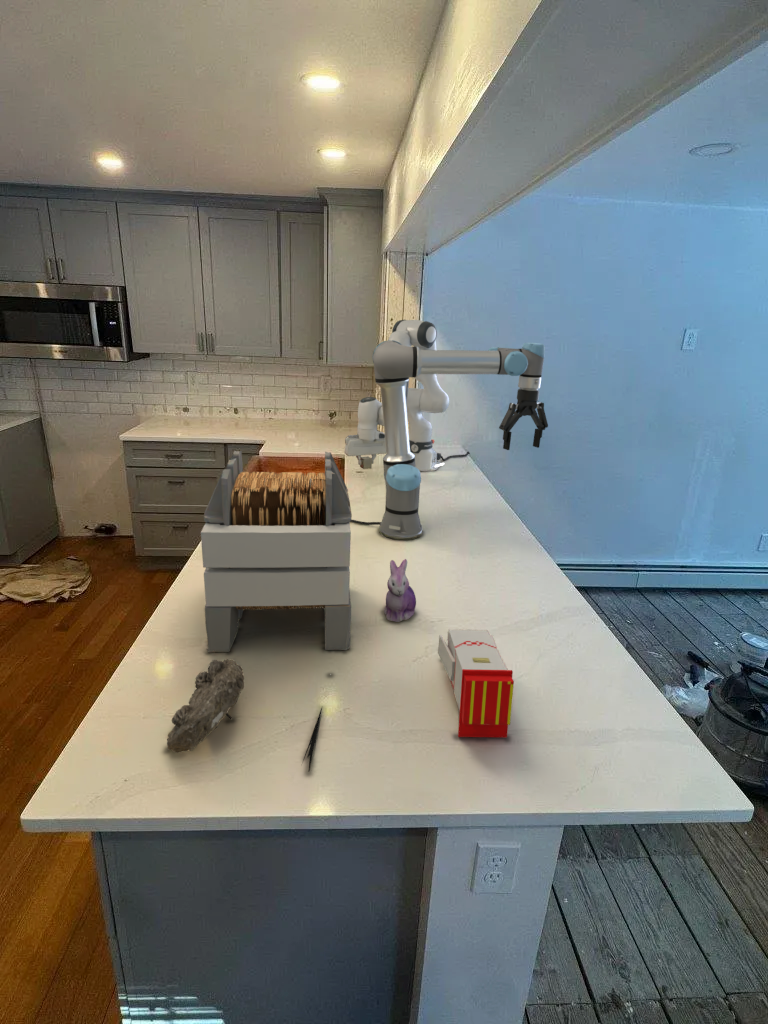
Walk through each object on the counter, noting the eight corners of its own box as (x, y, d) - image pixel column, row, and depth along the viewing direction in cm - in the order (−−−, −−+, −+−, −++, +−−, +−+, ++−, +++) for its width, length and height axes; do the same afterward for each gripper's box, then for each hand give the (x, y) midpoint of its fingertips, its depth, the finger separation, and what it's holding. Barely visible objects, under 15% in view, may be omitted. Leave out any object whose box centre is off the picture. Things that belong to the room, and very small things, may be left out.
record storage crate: (227, 584, 158) (219, 441, 145) (344, 583, 162) (347, 443, 148) (205, 654, 127) (191, 480, 113) (351, 650, 130) (355, 481, 117)
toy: (488, 613, 130) (523, 677, 101) (484, 667, 133) (517, 744, 104) (435, 612, 130) (455, 676, 101) (432, 666, 133) (451, 743, 103)
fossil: (192, 660, 117) (244, 628, 112) (224, 691, 120) (276, 661, 115) (142, 746, 98) (202, 712, 93) (182, 779, 101) (242, 748, 96)
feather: (331, 679, 122) (336, 673, 122) (307, 777, 96) (313, 769, 95) (324, 675, 122) (329, 669, 121) (298, 772, 95) (304, 764, 95)
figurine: (392, 627, 141) (395, 572, 136) (374, 608, 149) (376, 556, 144) (425, 619, 145) (429, 566, 140) (405, 601, 154) (408, 550, 149)
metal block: (363, 469, 257) (363, 459, 255) (359, 466, 260) (360, 456, 259) (371, 468, 258) (371, 458, 257) (367, 466, 262) (368, 456, 260)
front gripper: (506, 391, 191) (499, 452, 198) (563, 389, 201) (554, 448, 208) (493, 388, 197) (487, 447, 204) (549, 386, 207) (541, 443, 215)
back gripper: (348, 436, 247) (347, 467, 252) (390, 434, 255) (388, 464, 260) (342, 433, 252) (342, 464, 257) (384, 431, 261) (382, 460, 265)
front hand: (521, 448), depth 206 cm, fingers open, 13 cm apart
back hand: (365, 464), depth 259 cm, fingers closed on metal block, 4 cm apart
